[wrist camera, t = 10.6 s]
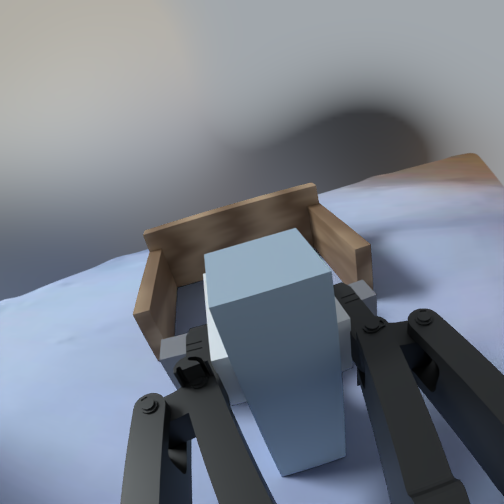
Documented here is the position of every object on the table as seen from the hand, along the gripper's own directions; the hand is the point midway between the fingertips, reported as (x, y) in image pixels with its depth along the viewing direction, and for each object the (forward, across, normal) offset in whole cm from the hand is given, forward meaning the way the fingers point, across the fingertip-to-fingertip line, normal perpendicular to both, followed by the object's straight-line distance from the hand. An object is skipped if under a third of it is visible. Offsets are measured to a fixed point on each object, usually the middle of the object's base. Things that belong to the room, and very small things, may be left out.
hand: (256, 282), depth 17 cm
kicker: (-3, 0, -8) cm, 8 cm away
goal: (+12, 0, -8) cm, 15 cm away
